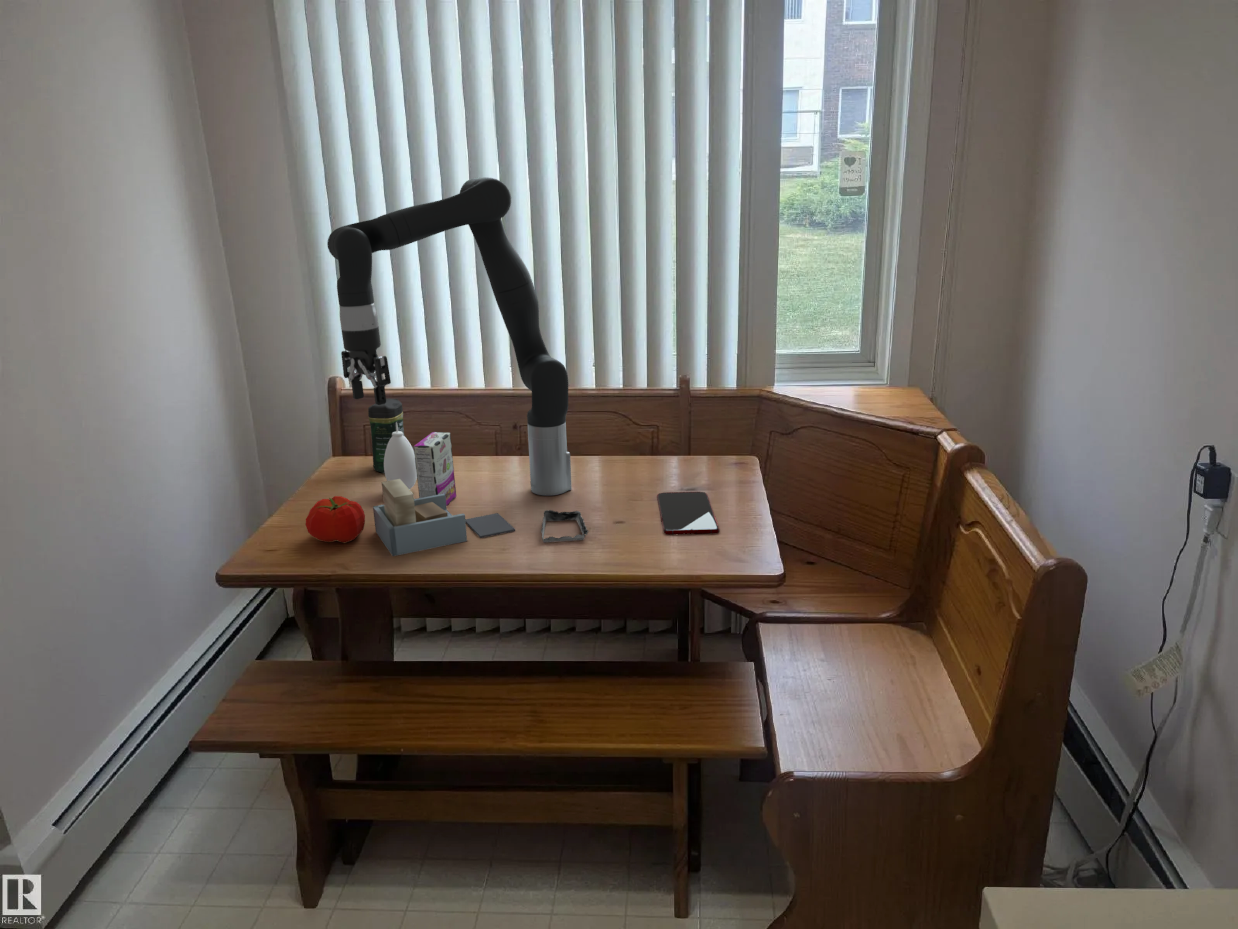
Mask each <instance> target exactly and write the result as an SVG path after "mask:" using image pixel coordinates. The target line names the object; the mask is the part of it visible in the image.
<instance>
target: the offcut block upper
mask: <svg viewBox="0 0 1238 929" xmlns="http://www.w3.org/2000/svg"><path fill="white" fill-rule="evenodd" d="M415 515H416V522H421V521H427V520H432V519H437V518H442V517H447V516H448V514H447V512H446V511H444V510H443V509H442V508H440V507H439V506H437V505H436V504H434V503H433V502H430V503H425V504H421V505H417V506H415Z"/></svg>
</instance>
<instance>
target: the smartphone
mask: <svg viewBox="0 0 1238 929" xmlns="http://www.w3.org/2000/svg"><path fill="white" fill-rule="evenodd" d="M656 498H657V505H658V508H659V509H658V510H659V515H660V521H661V525H662V530H663V534H665V535H670V536H671V535H672V536H675V535H676V534H678V536H679V535H707V534H709V535H712V534H713V535H715V534H718V533H719V532H720V527H719V525H718V524H719V522H718V520H717V518H716V515H715V513H714V510H713V507H712V504H711V502H710V498H709V495H708V493H706V492H704V491H670V492H665V491H664V492H660V493H658V494H656ZM676 536H677V535H676Z"/></svg>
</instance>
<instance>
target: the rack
mask: <svg viewBox="0 0 1238 929" xmlns="http://www.w3.org/2000/svg"><path fill="white" fill-rule="evenodd" d="M430 502H433V503H434V504H436V505H437V506H439V507H440V508H442V509H443V510H444V511H446V512H447V514H448V516H447V517H442V518H437V519H432V520H427V521H421V522H416V523H411V524H406V525H401V526H395V527H393V526H392V524H391V523H390V522H389V520H388V519H387V518H386V516H385V510H384V504H379V505H373V506H372V511H373V512H372V513H373V519H374V528H375V533H376V535H377V536H378V538H379V539H380V540H381V541H382V544H384V546H385V547H386V549H387V550H388V552H389V553H390V555H391V556H392V557H396V556H402V555H406V554H410V553H415V552H421V551H425V550H431V549H435V548H439V547H444V546H449V545H455V544H459V543H460V544H461V543H463V542H468V535H467V524H466V521H465V519H466V514H465V513H459V514H454V515H453V514H452V513H450V512H449V511H448V509H447V506H446V496H445V494H439V495H434V496H428V497H423V498H419V497H418V498H414V505H415V506H417V505H421V504H425V503H430Z"/></svg>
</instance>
